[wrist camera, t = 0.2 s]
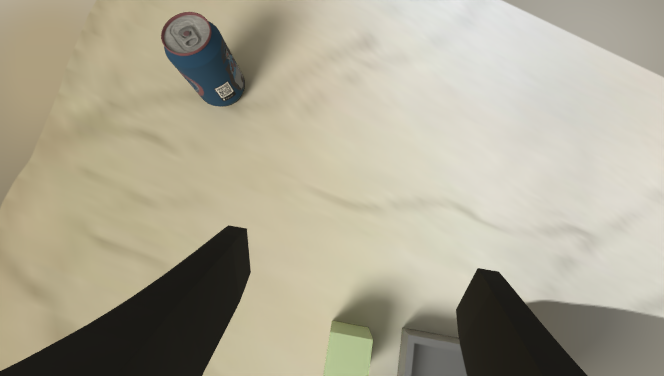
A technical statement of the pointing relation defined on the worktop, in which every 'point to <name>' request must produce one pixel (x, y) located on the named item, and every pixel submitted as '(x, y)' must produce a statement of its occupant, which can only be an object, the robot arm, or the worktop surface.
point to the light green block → (348, 350)
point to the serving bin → (429, 355)
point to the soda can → (203, 58)
